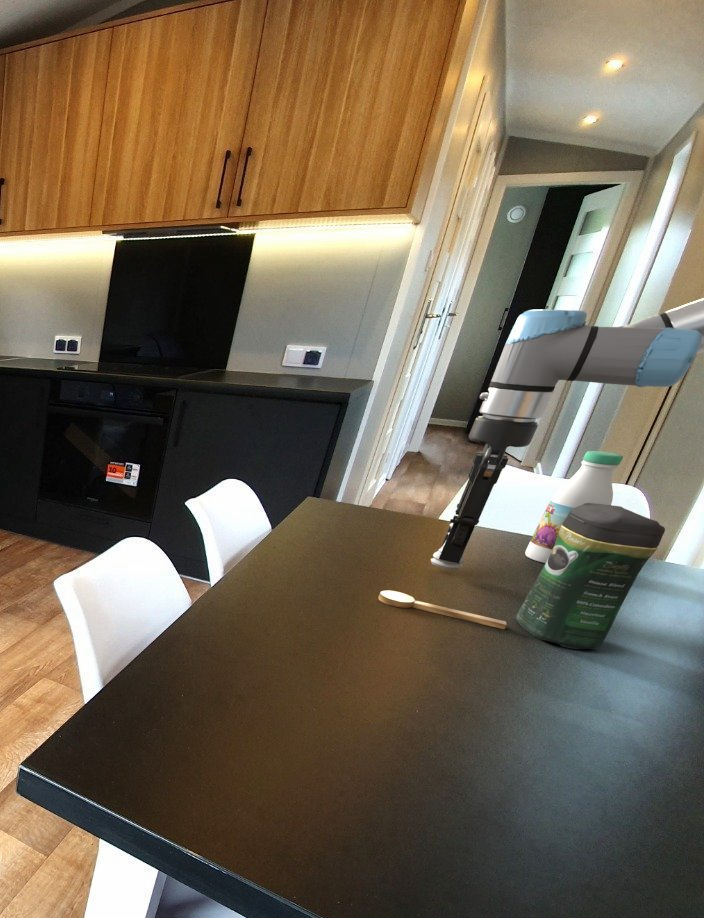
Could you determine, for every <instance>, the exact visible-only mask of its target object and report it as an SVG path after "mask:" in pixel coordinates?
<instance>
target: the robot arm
mask: <svg viewBox="0 0 704 918" xmlns="http://www.w3.org/2000/svg"><path fill="white" fill-rule="evenodd" d="M587 317H588V314H587V312H586V311H584V310H575V309H573V310H572V309H571V310H569V309H528V310H526V311H523V313H521V314H519V315H518V317H517V318H516V321H515V323H514V325H513V326H512V329H511V330H510V333H509V335H508V338H507V340H506V342H505V344H504V347H503V349H502V352H501V355H500V357H499V360H498V362H497V364H496V368H495V370H494V372H493V375H492V378H491V380H490V383H489V385H488V389H487V391H488V392H481V394H480V395H479V399H480V400H483V401H482V404H481V405H480V408H479V413H480V414H482V415H479V416H477V417H476V418H475V419H474V422H473V424H472V427H471V428H470V432H469V434H468V439H469V441H472V442H474V443H478V444H485V445H484V447H483V449H482V451H475V454H474V456H473V458H472V459H473V460H472V464H471V465H472V466H471V467H470V470H469V472H468V480H467V482H466V486H465V487H464V490H463V493H462V495H461V497H460V500H459V502H458V503H457V504H456V509H455V514H454V515H453V517H452V518H450V520H449V523H450V524H451V523H453V525H452V528H451V527H450V526H449V527H448V529H447V532H446V534H445V536H444V539H443V541H442V544H441V546H440V548H441V547H442V546H443V545H444V543H445V545H444V547H443V549H442V552H441V554H440V557H439V560H444V561H449V562H454V563H459V562H460V560H461V557H462V555H463V554H464V552H465V550H466V548H467V546H468V543H469V541H470V539H471V537H472V535H473V532H474V530H475V528H476V526H478V524H479V522H480V518H481V516H482V513H483V511H484V509H485V506H486V505H487V502H488V500H489V498H490V495H491V493H492V491H493V488H494V486H495V485H496V484H497V483H498V480H499V478H500V476H501V473H502V471H503V469H505V468H506V466H507V464H508V462H509V457H508V455H505V454H506V451H507V448H508V447H511V448H523V447H525V448H526V447H528V446H529V445H530V444H531V442H532V440H533V439H534V436H535V433H536V431H537V429H538V427H539V424H538V422H537V421H536V420H540V419H541V418H543V417H544V415H545V412H546V410H547V408H548V407H549V403H550V402H551V399H552V397H553V394H554V391H555V389H556V385H557V384H558V382H559V381H566V382H584V383H593V384H595V383H596V384H607V385H618V386H619V385H620V386H621V385H622V386H635V387H637V388H646V387H653V388H654V387H655V388H669V387H672V386H674V385H676V384H678V383H679V382H680V381H681V380H682V379H683V378H684V376H685V375H686V373H687V372H688V371H689V369H690V367H691V366H692V364H693V362H694V360H695V358H696V356H697V355H699V354H702V353H704V297H702V298H700V299H696V300H694V301H691V302H688V303H686V304H682V305H680V306H677V307H675V308H672V309H669V310H666V311H664V312H662V313H658V314H655V315H652V316H649V317H646V318H644V319H640V320H637V321H635V322H632V323H628V324H626V325H620V326H598V325H590V324H587V321H586V320H587ZM455 519H456V520H455ZM449 532H450V533H449ZM448 533H449V535H448ZM445 541H446V542H445ZM463 556H464V555H463Z"/></svg>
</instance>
